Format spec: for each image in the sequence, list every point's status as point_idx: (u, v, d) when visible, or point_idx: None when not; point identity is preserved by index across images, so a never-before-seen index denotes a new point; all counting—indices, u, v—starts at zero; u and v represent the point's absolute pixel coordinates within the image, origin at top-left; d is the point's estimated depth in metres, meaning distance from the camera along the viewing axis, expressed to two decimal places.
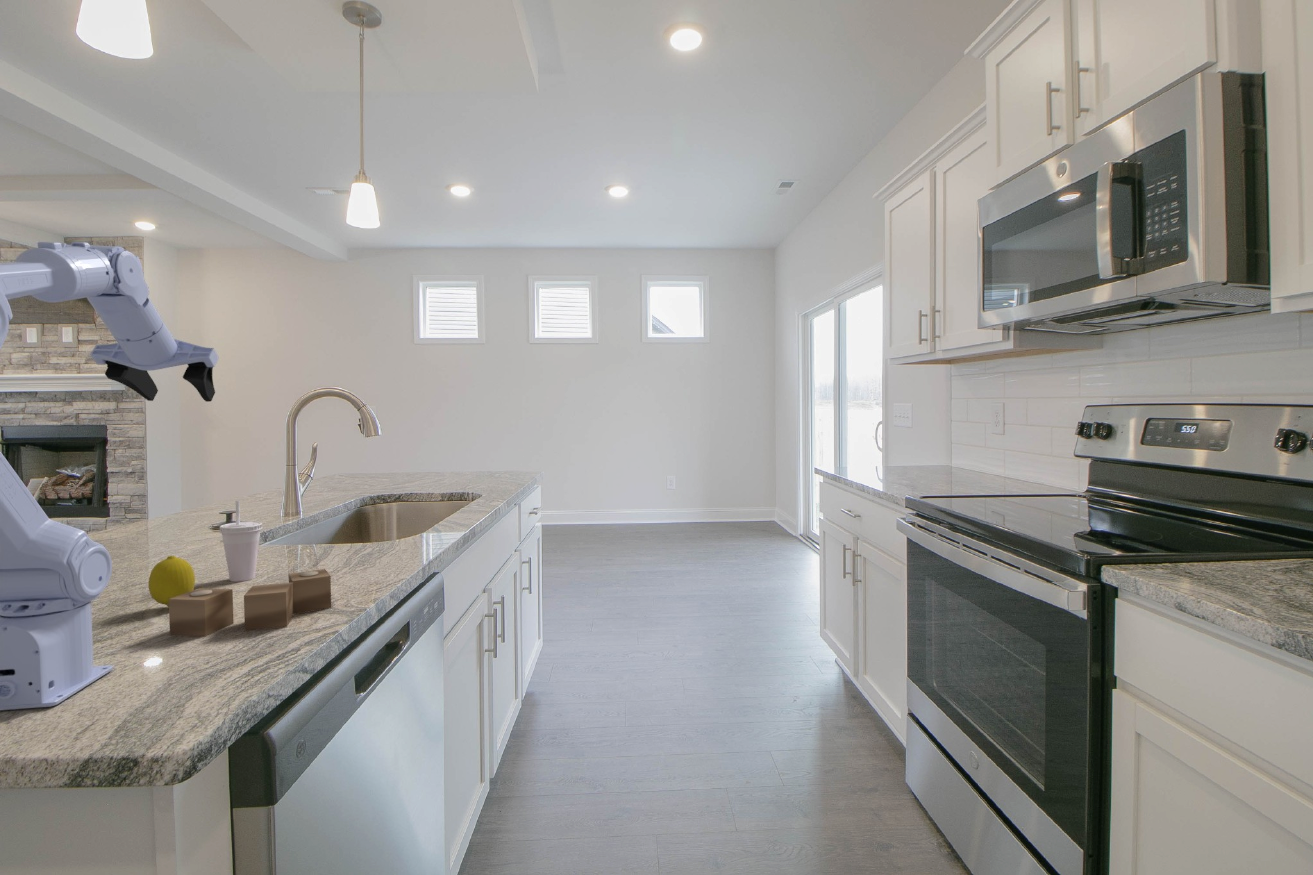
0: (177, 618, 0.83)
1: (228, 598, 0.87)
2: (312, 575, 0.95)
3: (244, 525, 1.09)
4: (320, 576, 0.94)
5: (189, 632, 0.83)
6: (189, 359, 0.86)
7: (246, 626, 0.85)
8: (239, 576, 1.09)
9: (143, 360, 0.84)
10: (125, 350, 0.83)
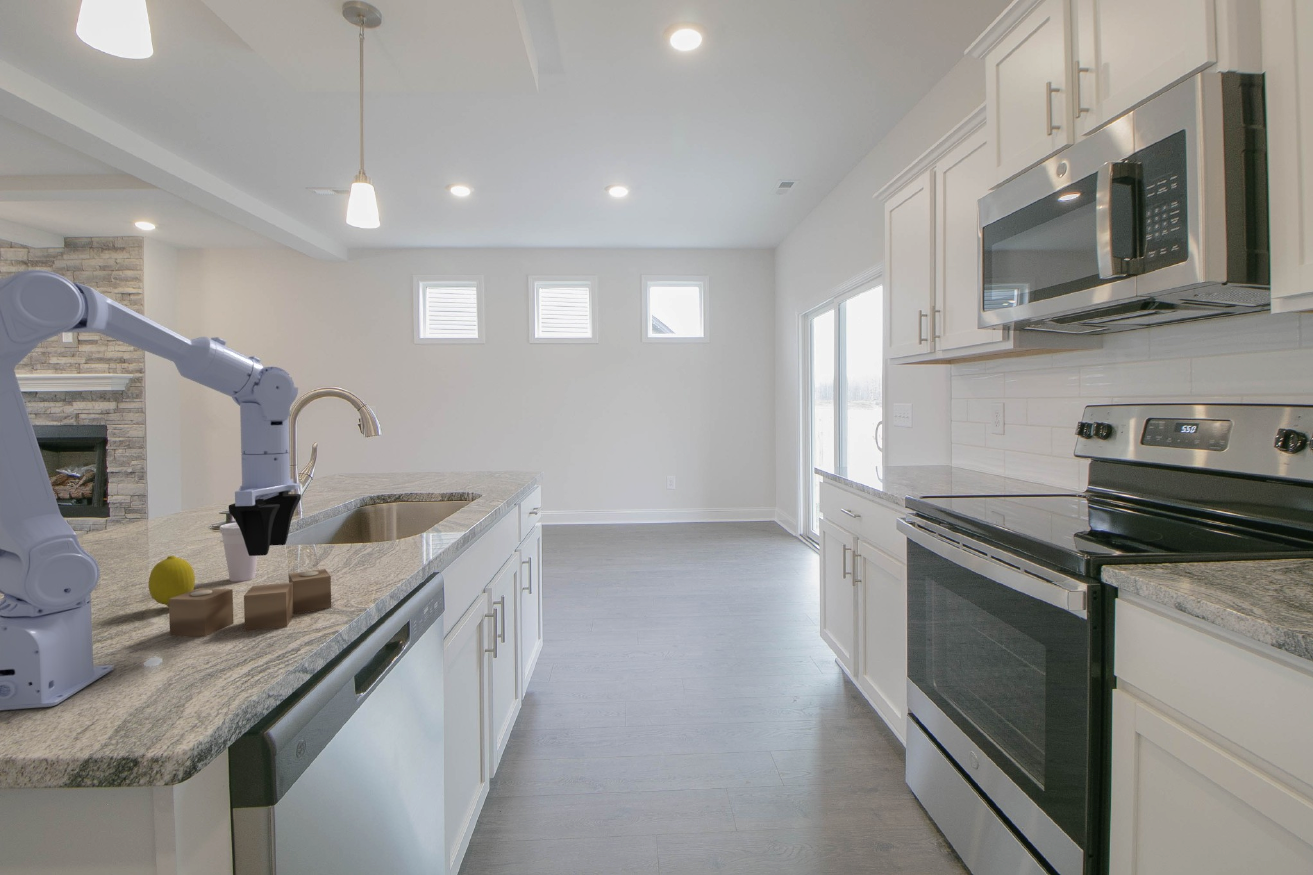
0: (177, 618, 0.83)
1: (228, 598, 0.87)
2: (312, 575, 0.95)
3: None
4: (320, 576, 0.94)
5: (189, 632, 0.83)
6: (239, 489, 0.82)
7: (246, 626, 0.85)
8: (239, 576, 1.09)
9: None
10: None
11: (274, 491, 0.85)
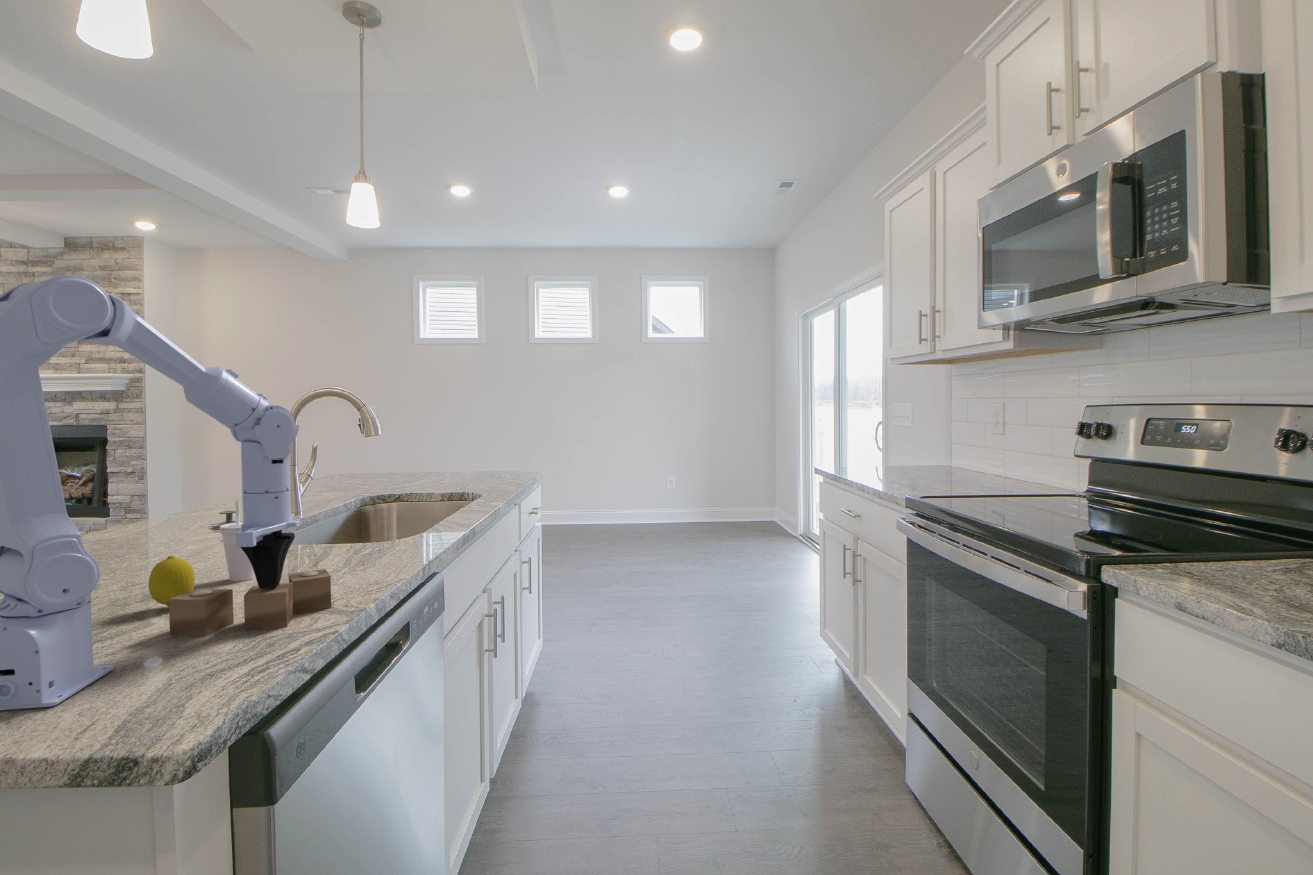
0: (177, 618, 0.83)
1: (228, 598, 0.87)
2: (312, 575, 0.95)
3: None
4: (320, 576, 0.94)
5: (189, 632, 0.83)
6: (240, 529, 0.82)
7: (246, 626, 0.85)
8: (239, 576, 1.09)
9: None
10: None
11: (275, 530, 0.85)
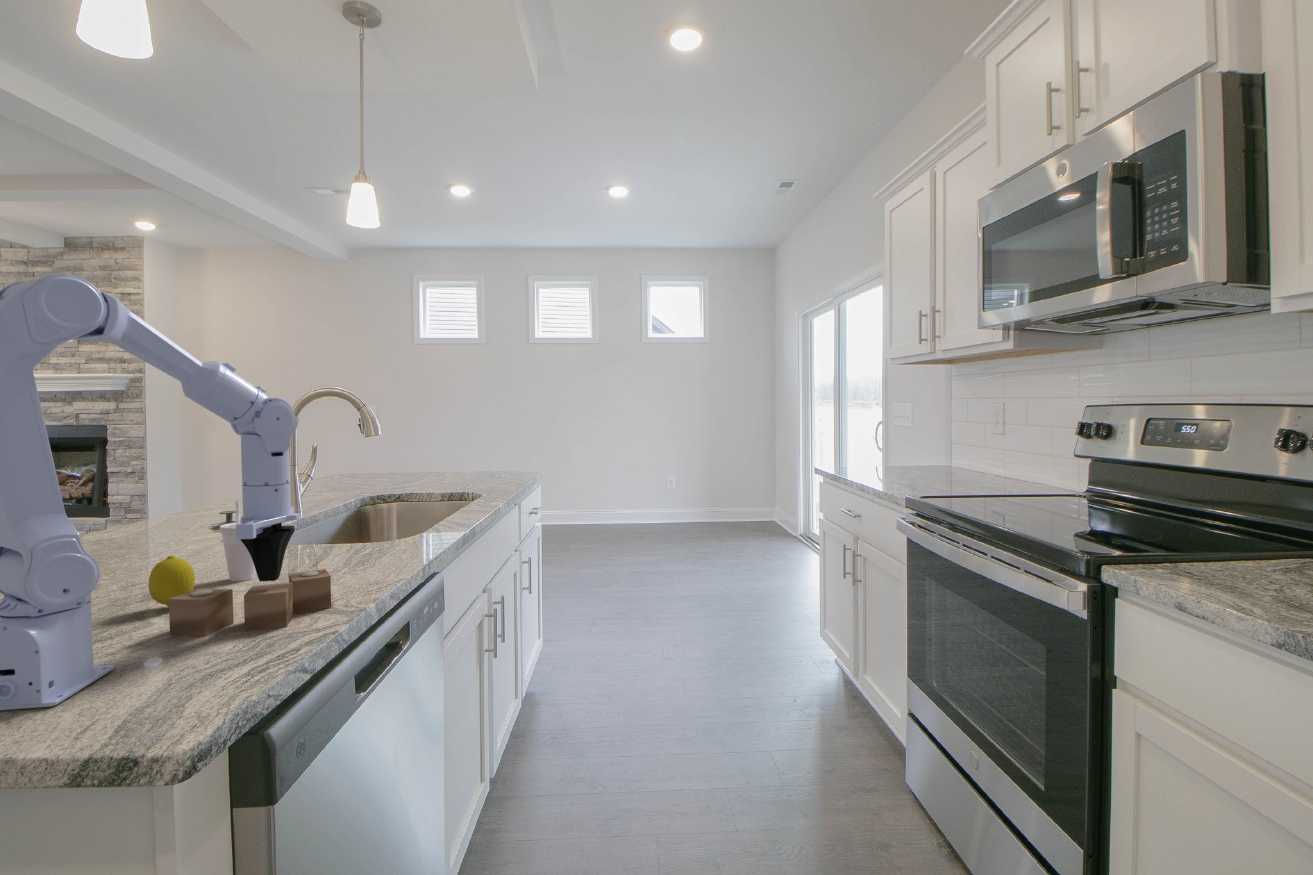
0: (177, 618, 0.83)
1: (228, 598, 0.87)
2: (312, 575, 0.95)
3: None
4: (320, 576, 0.94)
5: (189, 632, 0.83)
6: (240, 522, 0.82)
7: (246, 626, 0.85)
8: (239, 576, 1.09)
9: None
10: None
11: (275, 522, 0.85)
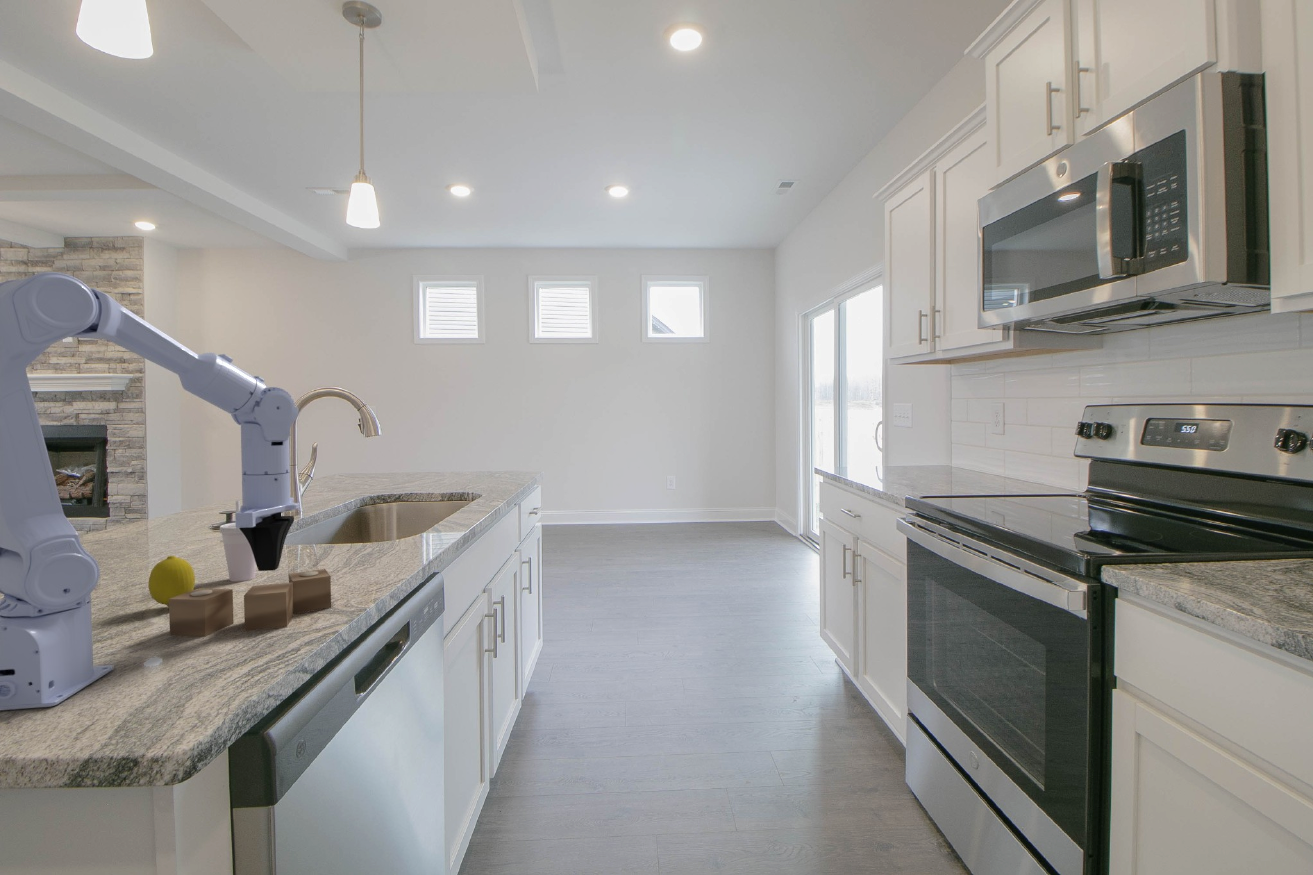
0: (177, 618, 0.83)
1: (228, 598, 0.87)
2: (312, 575, 0.95)
3: None
4: (320, 576, 0.94)
5: (189, 632, 0.83)
6: (240, 510, 0.82)
7: (246, 626, 0.85)
8: (239, 576, 1.09)
9: None
10: None
11: (274, 511, 0.85)
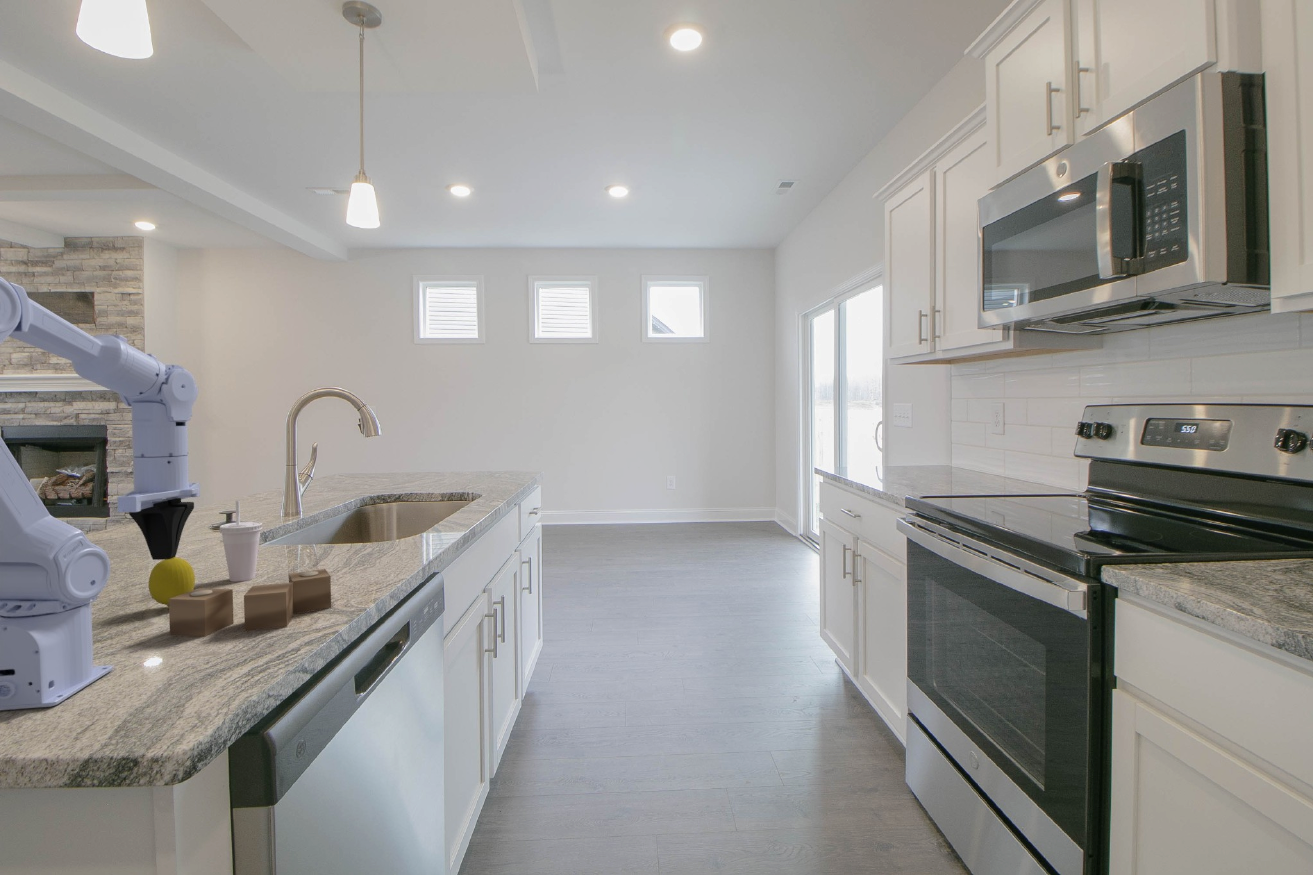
0: (177, 618, 0.83)
1: (228, 598, 0.87)
2: (312, 575, 0.95)
3: (244, 525, 1.09)
4: (320, 576, 0.94)
5: (189, 632, 0.83)
6: (126, 494, 0.77)
7: (246, 626, 0.85)
8: (239, 576, 1.09)
9: None
10: None
11: (166, 496, 0.80)
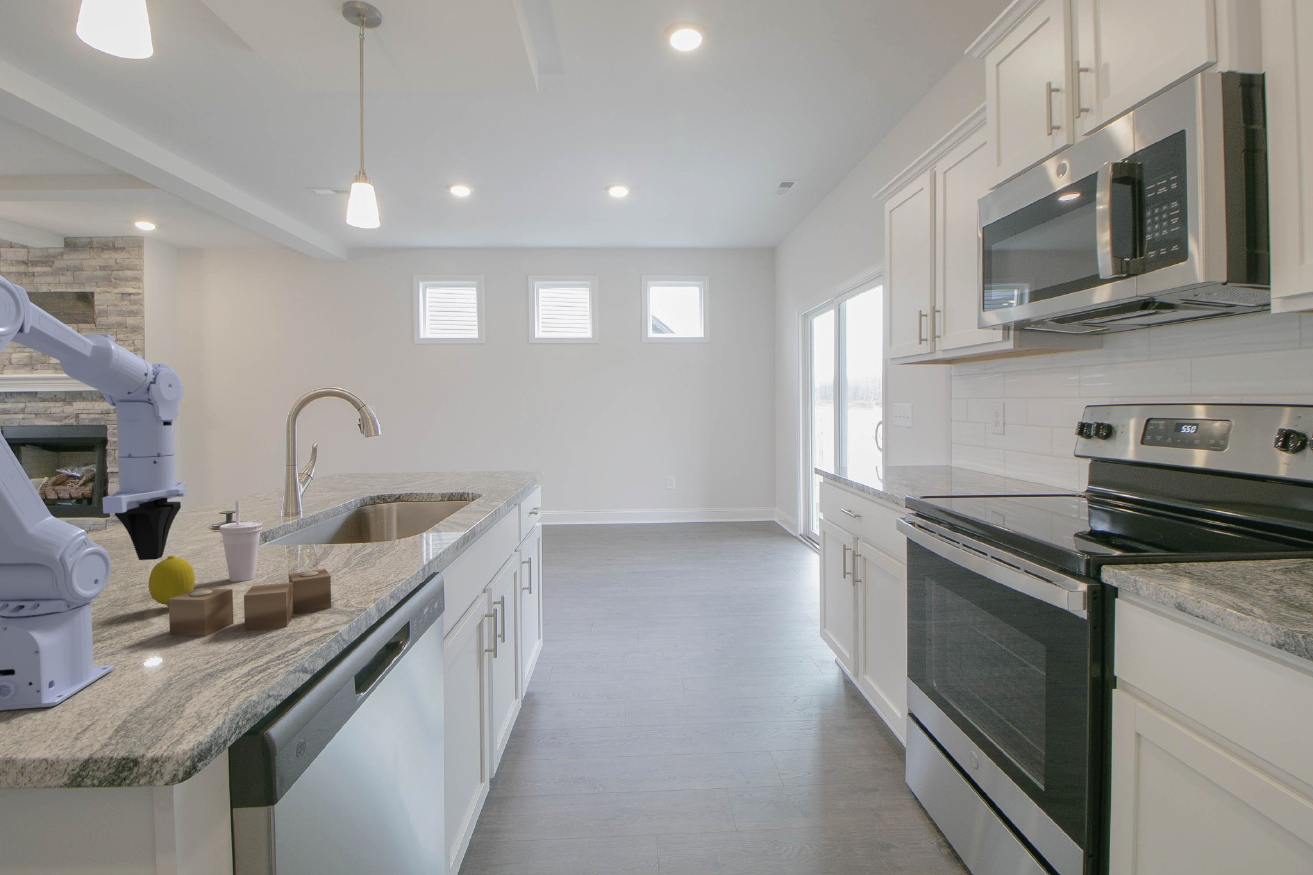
0: (177, 618, 0.83)
1: (228, 598, 0.87)
2: (312, 575, 0.95)
3: (244, 525, 1.09)
4: (320, 576, 0.94)
5: (189, 632, 0.83)
6: (111, 495, 0.77)
7: (246, 626, 0.85)
8: (239, 576, 1.09)
9: None
10: None
11: (152, 496, 0.79)
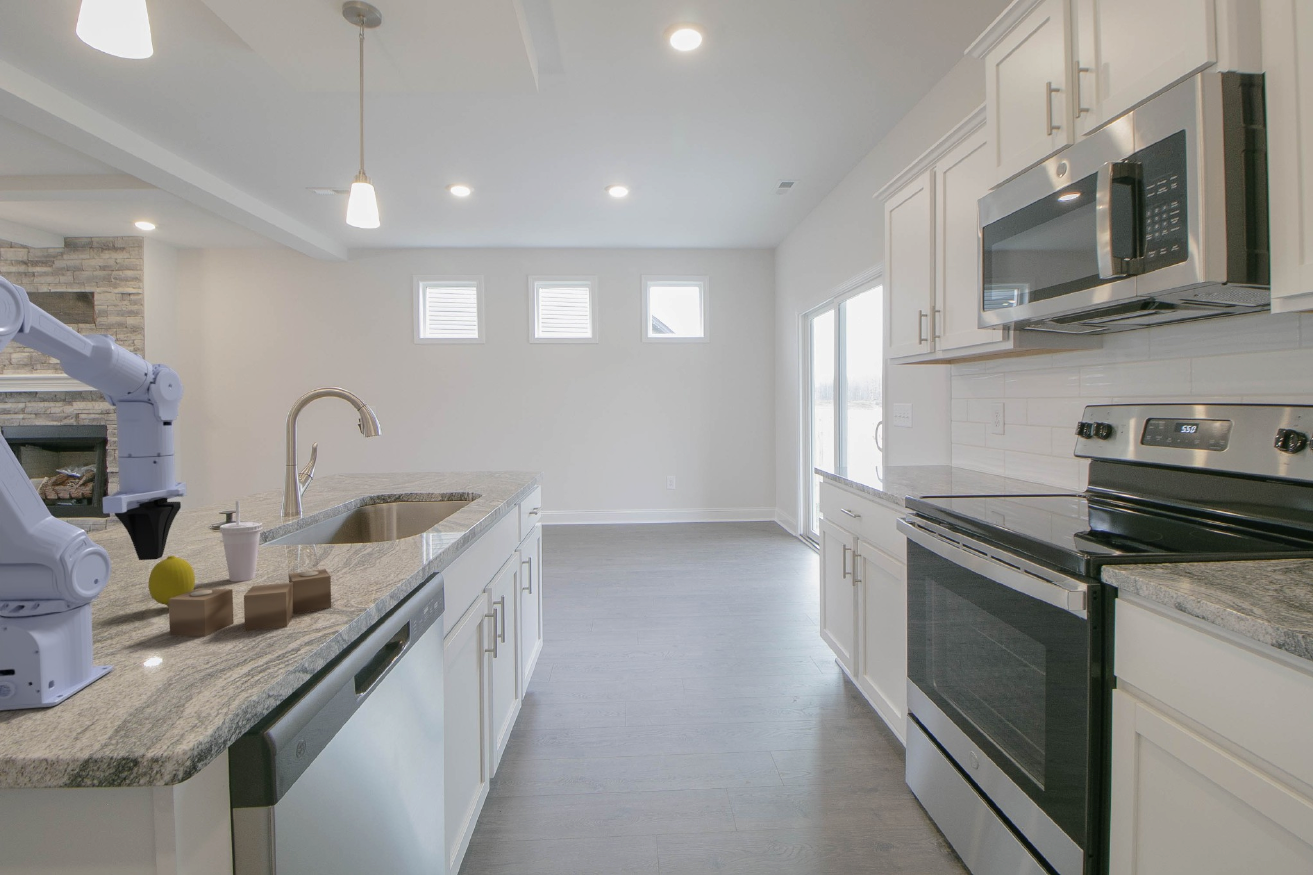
0: (177, 618, 0.83)
1: (228, 598, 0.87)
2: (312, 575, 0.95)
3: (244, 525, 1.09)
4: (320, 576, 0.94)
5: (189, 632, 0.83)
6: (111, 495, 0.77)
7: (246, 626, 0.85)
8: (239, 576, 1.09)
9: None
10: None
11: (152, 496, 0.79)
